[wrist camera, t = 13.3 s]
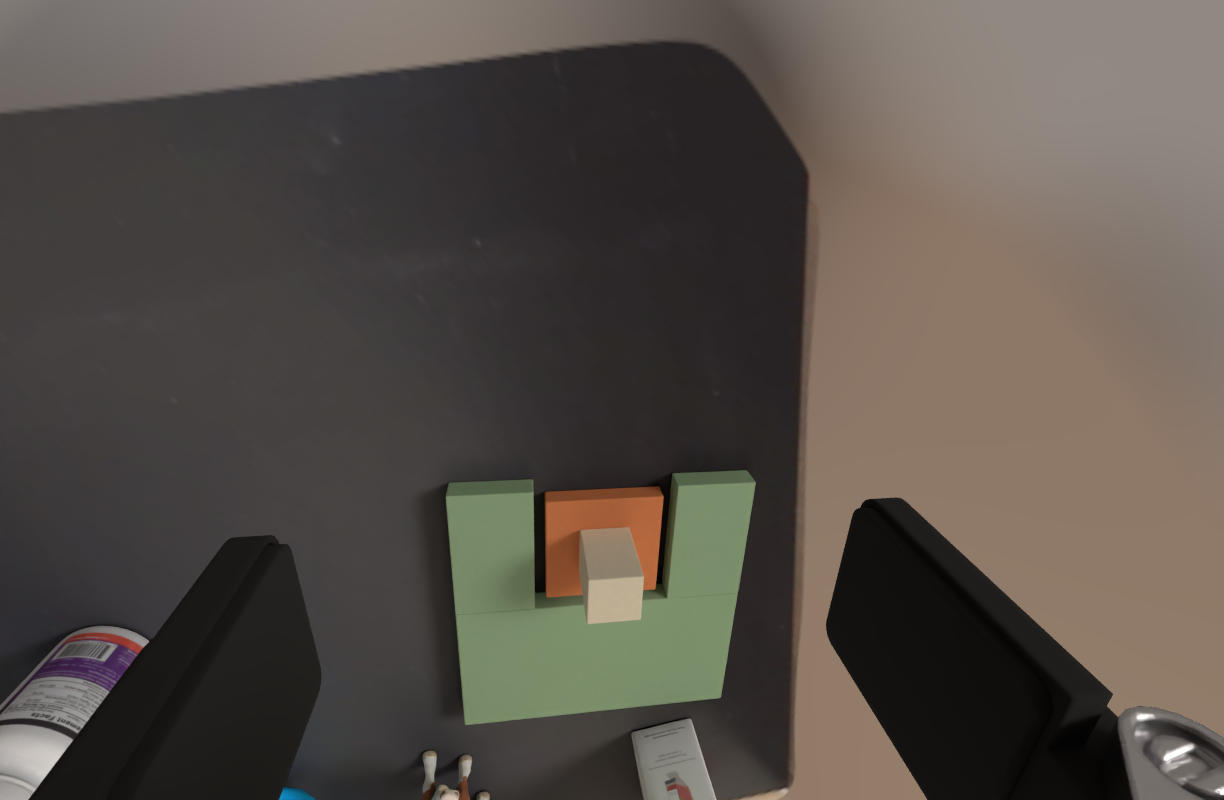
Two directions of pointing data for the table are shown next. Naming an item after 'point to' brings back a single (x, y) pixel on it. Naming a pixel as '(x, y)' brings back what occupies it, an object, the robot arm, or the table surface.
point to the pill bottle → (59, 703)
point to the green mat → (556, 626)
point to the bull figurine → (443, 795)
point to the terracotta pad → (596, 515)
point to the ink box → (671, 763)
